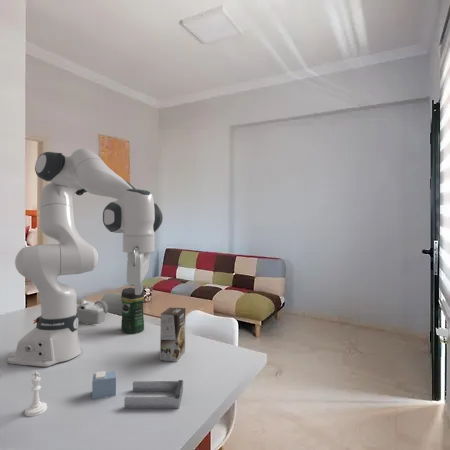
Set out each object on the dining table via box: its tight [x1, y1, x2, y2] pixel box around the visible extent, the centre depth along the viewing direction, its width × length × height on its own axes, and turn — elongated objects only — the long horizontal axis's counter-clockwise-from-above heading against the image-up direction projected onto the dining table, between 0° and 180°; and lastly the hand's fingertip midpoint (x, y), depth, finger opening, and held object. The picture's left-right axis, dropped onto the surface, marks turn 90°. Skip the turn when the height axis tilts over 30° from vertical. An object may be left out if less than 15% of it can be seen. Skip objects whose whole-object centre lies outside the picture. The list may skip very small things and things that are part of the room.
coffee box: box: [159, 307, 187, 363], centre depth 113 cm, size 9×6×16 cm
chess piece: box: [24, 370, 48, 417], centre depth 80 cm, size 5×5×10 cm
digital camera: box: [77, 299, 109, 325], centre depth 150 cm, size 17×14×10 cm
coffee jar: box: [120, 287, 145, 335], centre depth 137 cm, size 10×8×19 cm
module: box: [91, 370, 117, 400], centre depth 88 cm, size 6×4×6 cm, turn 108°
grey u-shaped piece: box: [123, 379, 184, 410], centre depth 86 cm, size 14×9×3 cm, turn 91°
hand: (138, 293), depth 91 cm, fingers closed
